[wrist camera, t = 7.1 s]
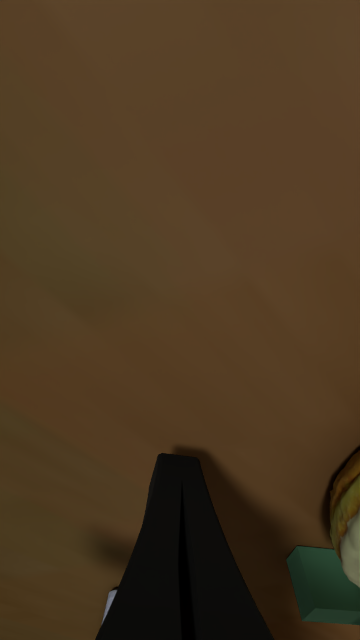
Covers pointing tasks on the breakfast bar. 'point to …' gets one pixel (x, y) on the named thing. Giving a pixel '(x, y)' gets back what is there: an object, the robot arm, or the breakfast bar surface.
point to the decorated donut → (347, 518)
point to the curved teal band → (323, 587)
